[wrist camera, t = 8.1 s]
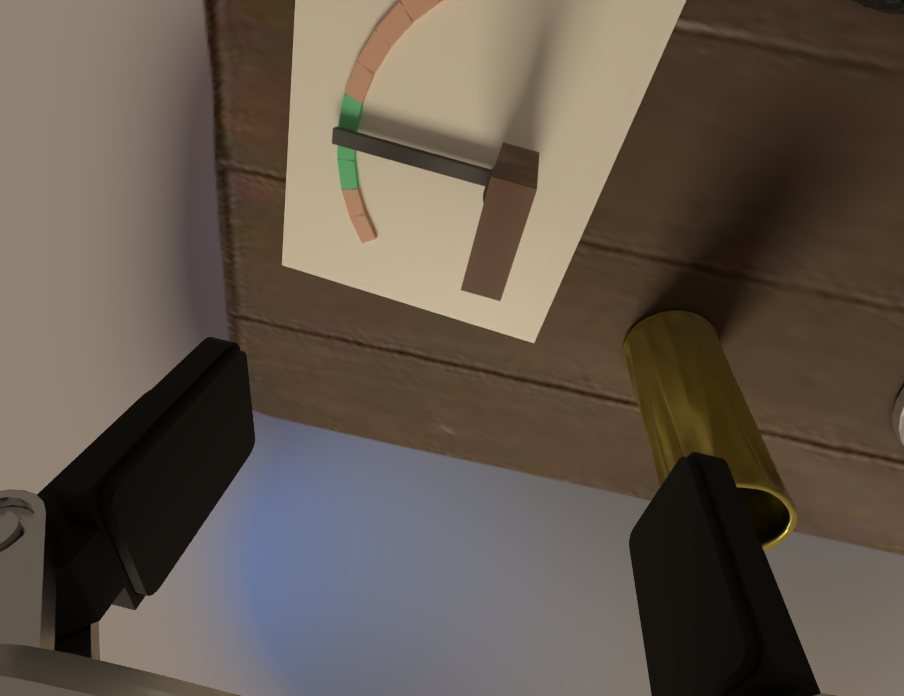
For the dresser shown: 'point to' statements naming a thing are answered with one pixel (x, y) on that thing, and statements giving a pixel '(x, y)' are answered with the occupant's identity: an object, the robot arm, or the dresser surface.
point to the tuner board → (458, 137)
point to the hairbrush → (885, 5)
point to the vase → (703, 414)
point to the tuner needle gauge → (502, 198)
